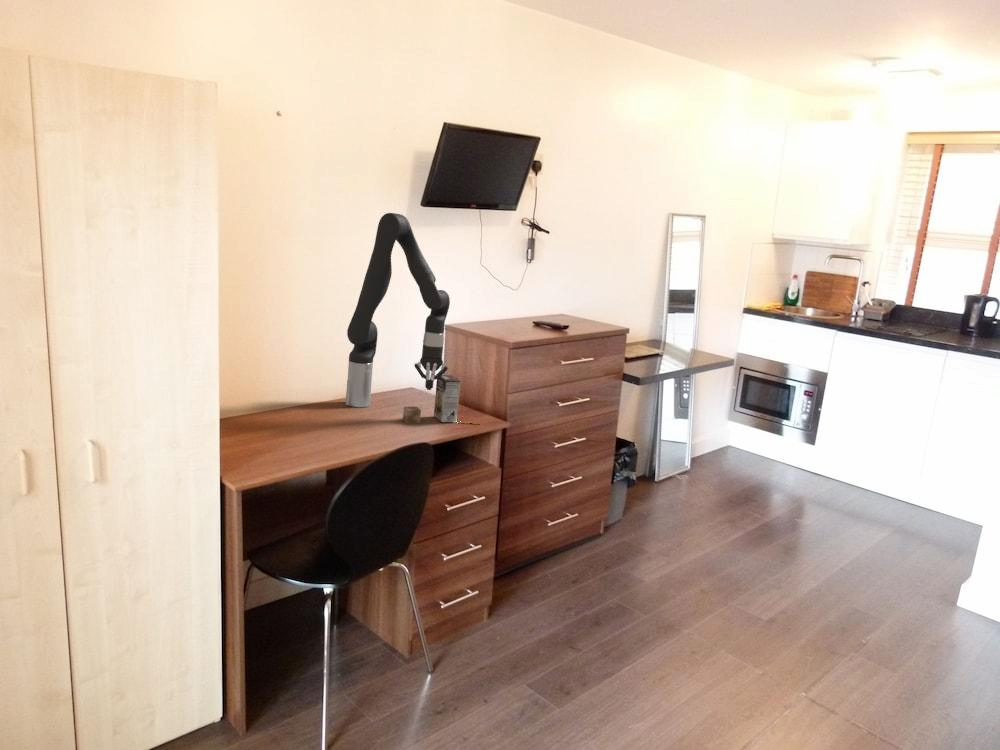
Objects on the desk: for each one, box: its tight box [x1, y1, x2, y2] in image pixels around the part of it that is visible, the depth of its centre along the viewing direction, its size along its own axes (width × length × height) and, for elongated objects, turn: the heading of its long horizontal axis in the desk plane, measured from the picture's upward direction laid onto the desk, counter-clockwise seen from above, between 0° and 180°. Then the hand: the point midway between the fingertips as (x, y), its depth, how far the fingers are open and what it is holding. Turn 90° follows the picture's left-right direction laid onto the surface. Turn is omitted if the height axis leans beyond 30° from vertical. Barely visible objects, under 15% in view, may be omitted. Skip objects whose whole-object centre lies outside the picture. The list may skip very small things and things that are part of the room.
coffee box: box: [433, 374, 462, 423], centre depth 267 cm, size 9×6×16 cm
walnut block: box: [402, 406, 422, 424], centre depth 261 cm, size 5×5×5 cm
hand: (428, 389), depth 265 cm, fingers closed
